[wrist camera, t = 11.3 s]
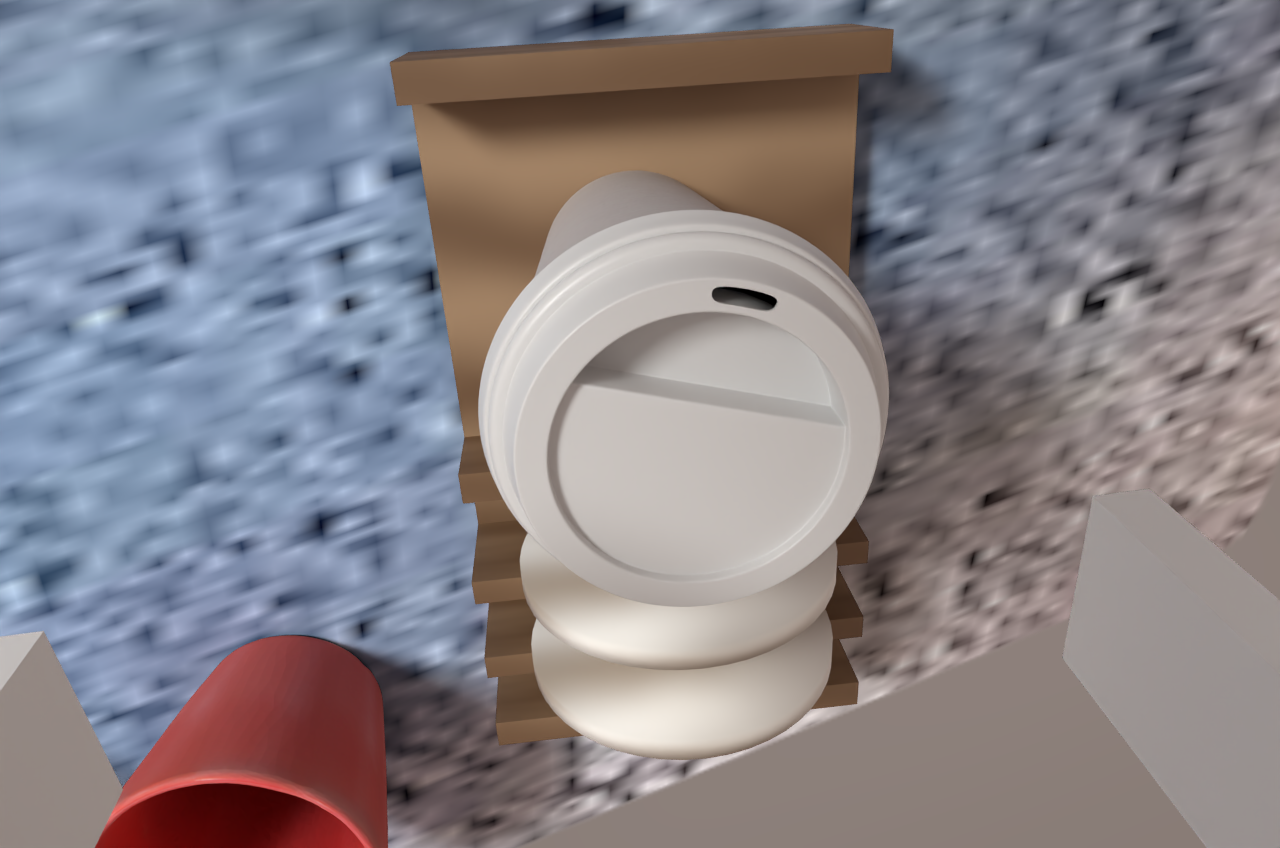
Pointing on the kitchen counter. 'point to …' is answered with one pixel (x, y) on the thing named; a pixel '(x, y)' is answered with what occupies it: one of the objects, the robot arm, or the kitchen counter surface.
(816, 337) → the coffee cup
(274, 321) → the kitchen counter surface
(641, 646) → the dish rack
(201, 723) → the flower pot
